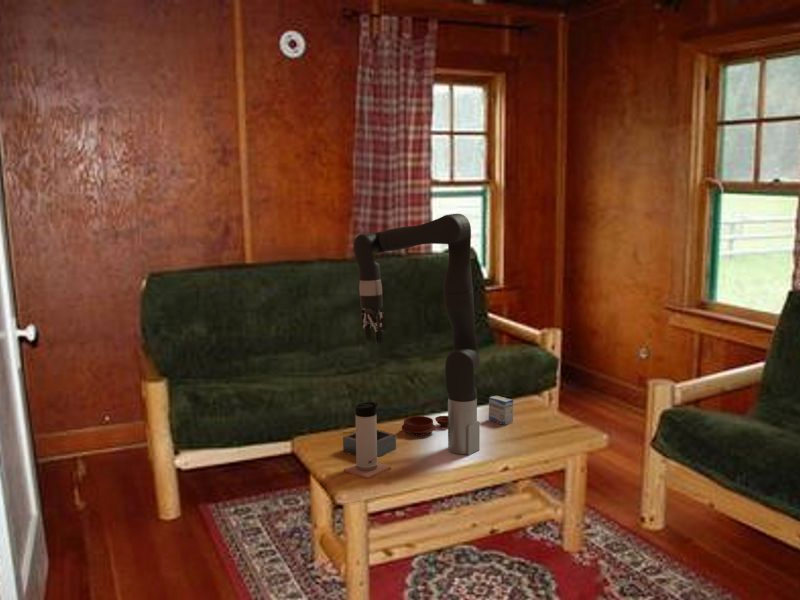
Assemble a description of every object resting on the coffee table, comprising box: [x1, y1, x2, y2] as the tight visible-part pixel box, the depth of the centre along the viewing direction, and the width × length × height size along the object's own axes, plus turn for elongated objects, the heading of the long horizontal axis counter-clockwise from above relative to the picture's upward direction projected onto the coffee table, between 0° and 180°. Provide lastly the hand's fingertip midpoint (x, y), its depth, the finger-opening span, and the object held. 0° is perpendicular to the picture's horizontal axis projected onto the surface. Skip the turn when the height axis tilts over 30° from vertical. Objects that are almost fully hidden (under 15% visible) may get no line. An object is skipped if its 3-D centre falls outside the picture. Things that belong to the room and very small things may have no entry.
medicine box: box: [488, 395, 514, 426], centre depth 257 cm, size 8×4×9 cm, turn 43°
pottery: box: [401, 415, 448, 437], centre depth 250 cm, size 12×20×4 cm, turn 123°
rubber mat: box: [343, 461, 392, 480], centre depth 216 cm, size 10×10×1 cm
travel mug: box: [354, 401, 378, 471], centre depth 215 cm, size 6×7×20 cm
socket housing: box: [342, 429, 397, 458], centre depth 231 cm, size 12×12×5 cm
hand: (373, 341), depth 242 cm, fingers open, 8 cm apart
